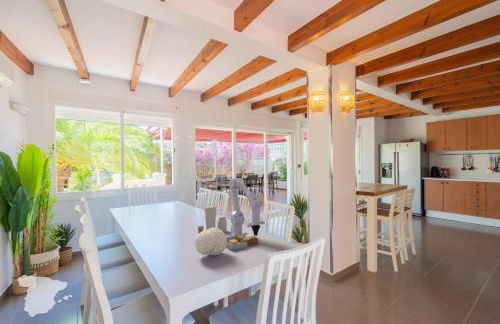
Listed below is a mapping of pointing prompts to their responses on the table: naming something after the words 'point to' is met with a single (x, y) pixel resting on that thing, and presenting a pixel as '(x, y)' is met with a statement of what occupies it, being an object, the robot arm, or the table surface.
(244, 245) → the tray
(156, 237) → the table surface
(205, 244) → the cauliflower
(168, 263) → the table surface
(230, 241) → the tile
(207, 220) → the toiletry set
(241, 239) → the board
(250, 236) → the tile
